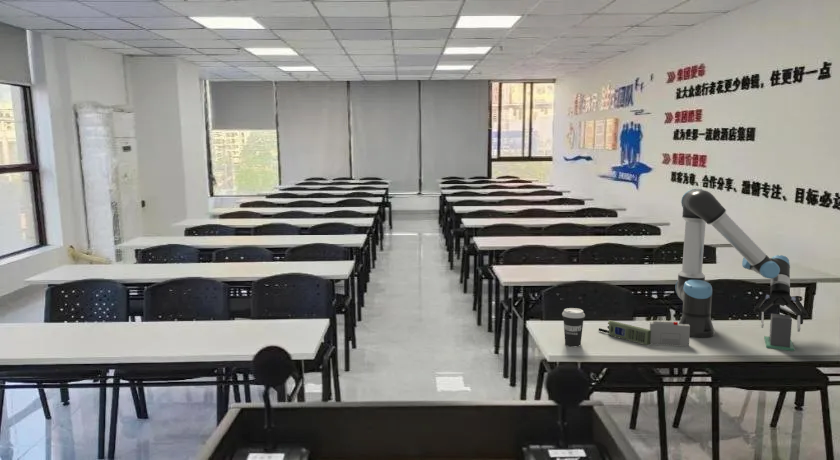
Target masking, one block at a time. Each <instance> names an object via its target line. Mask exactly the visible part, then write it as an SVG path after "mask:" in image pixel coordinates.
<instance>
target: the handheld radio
mask: <svg viewBox="0 0 840 460" xmlns="http://www.w3.org/2000/svg"><path fill="white" fill-rule="evenodd" d="M607 321H608V322H607V324H608V325H607V329H605V328H601V327H599V328H598V332H601V331H602V333H607V334H609V335H608V336H610V335H612V337H614V336H616V337H615V338H618V337H620V338H619V339H622V338H623V340H625V339H627V340H626V341H629V340H630V342H634V343H638V344H641V345H645V346H650V345H651V344H650V339H651V330H650V329H647V328H644V327H640V326H635V325H632V324H628V323H627V324H626V323H623V322H620V321H616V320H610V319H608V320H607Z"/></svg>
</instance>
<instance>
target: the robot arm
mask: <svg viewBox="0 0 840 460" xmlns="http://www.w3.org/2000/svg"><path fill="white" fill-rule="evenodd" d="M680 203H681V207H682V218H683V220H684V222H685V225H684V227H685V228H684V239H683V240H684V241H683V252H682V253H683V254H682V265H681V266H682V267H681V271H680V272H679V273H678V274H677V281H676V283H675V286H674V287H675V293H676V295H677V297H678V298H679V299H680V300H681V301H682V315H681V317H680V320H679V322H678V324H689V325H690V337H692V338H693V337H694V338H711V337H713V336H714V334H715V329H714V324H713V322H712V318H711V315H712V299H713V287H712V285H711V283H709V282H708V281H706V280H705V279H706V275H704V273H703V263H704V262H703V261H704V260H703V259H704V251H705V249H704V247H705V236H706V224H707V225H712V227H713V228H714V229H715V230H716V231H717V232H718V233H719V234H720V235H721V236H723V238H724V239H725V240H726V241H727V242H728V243H729V244H730V245H731V246H732V247H733V248H734V249H735V250H736V251H737V252H738V253H739V254H740V255H741V257H743V259H742V261H741V264H742V265H741V266H742V268H743V269H747V270H749V271H753V272H755V273H756V274H759V275H760V276H762V277H763V278H765V279H770V294H767V293H766V292H763V293H762V296H761V298H760V300H759V301H758V303H756V305H755V306H754V308H753V313H757V315H758V318H757V319H758V321H760V322H761V323H760V328H761V329H763V328H764V325H765V323H764V322H765V321H764V320H765V318H764V317H765V316H764V315H765V314H764V313H765V312H767V310H768V309H770V308H771V307H773V306H774V305H775V306H780V307H781V306H782V307H785V306H786V307H787V308H788V309H790V311H792V313H794V314H795V315H796V316H797V317H796V321H797V322H796V323H797V324H796V325H797V332H799V333H800V332H801V325H803V324H804V318H806V319H807V317H808V316H809V313H808V311H807V310H806V308H805V307H804V306H803V304H802V302H801V301H800V299H799V296H798V295H795V296H791V278H790V277H791V276H790V274H791V273H790V272H791V271H790V270H791V264H790V260H789V258H788V256H785V255H782V254H781V255H779V254H776V255H773V256H772V257H769V256H768V255H767V254H766V253H765V251H763V250H762V249H761V248H760V247H759V246H758V245H757V244H756V242H754V240H753V239H752V238H751V237H750V236H749V235H748V234H747V233H746V232H745V231H744V230H743V229H742V227H740V226H739V225H738V224H737V223H736V222H735V221H734V220H733V219H732V218H731V217H730V216H729V215H728V214H727V209H725V207H724V206H723V205H722V204H721V203H720V201H719V200H718V199H717V198H716V196H714V195H713V194H712V193H711V192H710V191H708V190H704V189H701V188H692V189H689V190H687V191H686V192H685V193H684V194H683V195H682V197H681V201H680ZM768 299H770V300H769V301H768V302H767V303H766V304H765V305H763V304H764V303H765V301H766V300H768ZM792 302H794V303H795V305H796V306H795V305H794V304H793V303H792Z"/></svg>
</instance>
